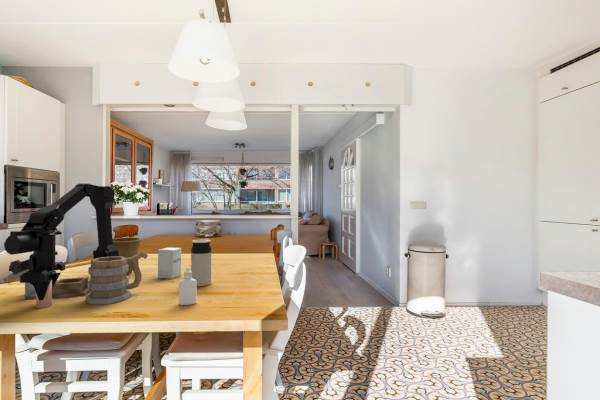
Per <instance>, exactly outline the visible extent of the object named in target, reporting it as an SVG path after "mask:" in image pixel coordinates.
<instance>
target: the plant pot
mask: <svg viewBox="0 0 600 400" xmlns="http://www.w3.org/2000/svg"><path fill="white" fill-rule="evenodd" d="M112 238H113V237H112ZM141 241H142V239H141V238H140V237H131V236H130V237H129V236H128V237H127V236H126V237H115V238H113V244H114V246H115V247H116V248H117V250H118V254H119V256H121V257H125V258H131V257H133V256H135V255H137V254H138V253H140V246H141ZM127 264H128V265H129V271H128V272H127V275H131V274H132V273H133V269H132V262H129V263H127Z"/></svg>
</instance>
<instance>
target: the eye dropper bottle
mask: <svg viewBox="0 0 600 400" xmlns="http://www.w3.org/2000/svg"><path fill="white" fill-rule="evenodd" d="M183 273H184V274H183V278H181V279H180V280H179V282H178V304H179V305H180V306H191V305H195V304H197V298H198V297H197V296H198V294H197V291H198V289H197V281H196V280H195V279H193V278H192V271H191V268H190V267H187V268H186V270H185V271H184V272H183Z"/></svg>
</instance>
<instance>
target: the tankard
mask: <svg viewBox="0 0 600 400" xmlns="http://www.w3.org/2000/svg"><path fill="white" fill-rule="evenodd" d="M148 257H149V255H148V254H147V253H145V252H143V251H139V252H138V254H137V255H135V256H133V257H131V258H125V257H121V256H111V257H101V258H96V259H91V260H90V266H89V267H88V268H87V269H88V275H90V280H88V288H89V289H90V292H89V294H87V295H85V301H86V303H88V304H90V305H110V304H115V303H120V302H124V301H126V300H127V299H129V298H130V297H131V295H132V292H131V291H130V290H133V289H136V288H139V285H140V284H141V282H142V275H143V273H142V271H141V269H140V264H139V263H140V262H139V260H140V259H142V258H143V260H145V259H147V258H148ZM129 262H132V269H133V271H132V273H133V274H134V280H133V282H131V283H129V280H130V279H129V277H127V275H128V274H127V272H128V271H129V265H128V264H127V263H129Z"/></svg>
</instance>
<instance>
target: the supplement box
mask: <svg viewBox="0 0 600 400" xmlns="http://www.w3.org/2000/svg"><path fill="white" fill-rule="evenodd" d="M157 251H158V253H157V278H158V279H170V280H172V279H174V278H176V277H179V276H181V275H182V247H165V248H159V249H158V250H157Z"/></svg>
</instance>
